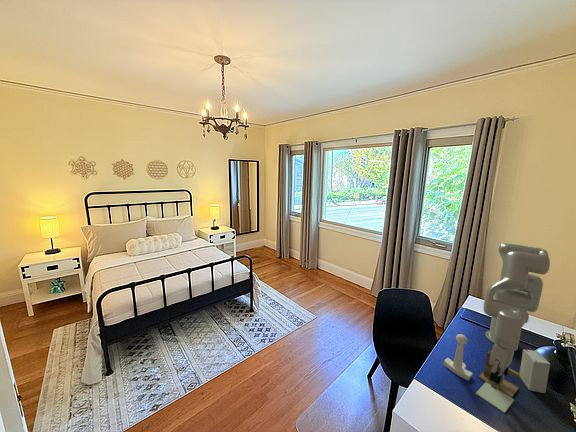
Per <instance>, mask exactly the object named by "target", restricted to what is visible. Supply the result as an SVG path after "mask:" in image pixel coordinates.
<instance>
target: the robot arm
mask: <svg viewBox="0 0 576 432" xmlns="http://www.w3.org/2000/svg"><path fill="white" fill-rule="evenodd" d="M498 253H499V256H500V257H501V260H502V267H501V273H500V280H498V281H496V282H494V283H492V284H491V285H490V286H489V287H488V288H487V290H486V292H485V295H484V301H483V312H484V314H486V315H487V316H489V317H490V318H491V321H490V328H489V330H486V331H485V334H484V335H485V338H486V339H488V341H490V342H491V343H493V346H492V349H491V356H490V360H489V364H490V365H493V367H492V369H491V374H490V380H492V381H493V382H495V383H497V384H498V385H499V384H500V380H501V376H500V375H501V372H502V371H504V370H505V369H506V370H505V376H504V377H507V376H508V374H509V373H508V369H509V368H510V365H511V364H512V362H513V359H514V353H515V351H518V349H519V344H520V339H521V333H522V329H523V327H524V326H525V325H526V324H527V323H528V322H529V318H530V314H529V313H535V312H536V311H537V310H538V309H539V305H540V301H541V296H542V294H543V293H542V291H543V286H544V283H543V279H542V278H541V277H540V276H538V275H546V274H547V273H549V271H550V266H551V261H550V257H549V253H548V251H547V250H546V249H544V248H540V247H533V246H526V245H522V244H514V243H505V242H504V243H501V244H500V245H498ZM530 273H532V274H530ZM536 274H537V275H536ZM498 366H500V368H499V367H498ZM497 369H499V373H498V372H497Z"/></svg>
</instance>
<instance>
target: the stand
mask: <svg viewBox="0 0 576 432" xmlns="http://www.w3.org/2000/svg"><path fill="white" fill-rule="evenodd" d="M491 352H492V350H489V351H488V352H487V353H486V359H485V366H484V369H483V370H484V371H482V373H481V374H480V375H479V376H478V379H480V380H481V381H483V382H484V383H485V382H487V383H488V384H490V385H491V384H492V380H490V374H491V369H492V367H493V365H490V364H489V360H490V356H491ZM508 368H509V369H508V374H510V375H512V376H514V377H515V378H517V379H519V378H520V374H519V373H520V372H518V371H515V370H513V369H511V367H508ZM519 389H520V388H519V387H518V386H516V384H513V383H511V382H510V381H508V380H507V379H505V378H504V381H503V383H502V384H501V383H500V384H499V386H498V390H500V391H501V392H503V393H504V394H506V395H508V396H509V397H511V398H513V397H514V395H515V394H516V393H517V392H518V391H519Z"/></svg>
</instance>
